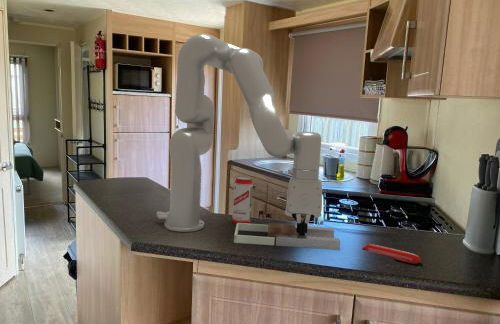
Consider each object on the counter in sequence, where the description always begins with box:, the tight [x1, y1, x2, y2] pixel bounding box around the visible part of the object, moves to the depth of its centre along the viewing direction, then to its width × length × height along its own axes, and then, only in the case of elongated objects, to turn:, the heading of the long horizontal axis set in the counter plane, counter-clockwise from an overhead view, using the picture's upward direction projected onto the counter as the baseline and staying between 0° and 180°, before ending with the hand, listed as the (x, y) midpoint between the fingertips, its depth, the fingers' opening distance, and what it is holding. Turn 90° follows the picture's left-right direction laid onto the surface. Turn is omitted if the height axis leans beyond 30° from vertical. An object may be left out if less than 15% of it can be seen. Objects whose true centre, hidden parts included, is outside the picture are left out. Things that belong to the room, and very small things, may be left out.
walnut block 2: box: [281, 223, 296, 235], centre depth 117 cm, size 4×4×4 cm
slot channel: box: [275, 225, 341, 251], centre depth 118 cm, size 18×12×4 cm, turn 88°
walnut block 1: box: [266, 222, 283, 242], centre depth 117 cm, size 4×4×4 cm
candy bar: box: [361, 243, 423, 265], centre depth 110 cm, size 16×4×3 cm, turn 59°
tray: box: [233, 223, 276, 246], centre depth 118 cm, size 12×12×3 cm
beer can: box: [231, 175, 254, 225], centre depth 131 cm, size 6×6×16 cm
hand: (301, 235), depth 117 cm, fingers closed
